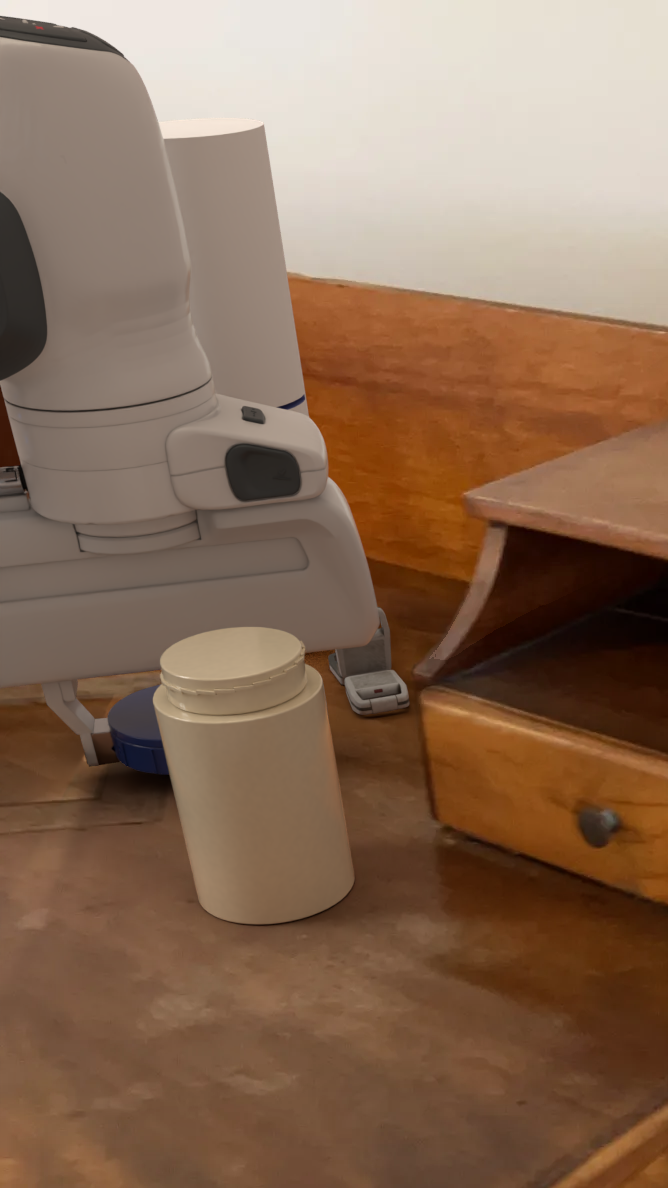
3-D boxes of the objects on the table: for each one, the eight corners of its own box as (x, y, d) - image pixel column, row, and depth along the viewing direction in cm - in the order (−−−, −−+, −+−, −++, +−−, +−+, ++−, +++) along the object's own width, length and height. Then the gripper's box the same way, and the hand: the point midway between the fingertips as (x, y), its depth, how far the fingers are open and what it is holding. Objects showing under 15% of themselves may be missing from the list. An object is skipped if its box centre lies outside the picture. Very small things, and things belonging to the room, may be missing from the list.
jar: (209, 938, 71) (154, 696, 65) (188, 867, 76) (134, 636, 70) (369, 906, 73) (331, 667, 66) (338, 838, 78) (299, 611, 72)
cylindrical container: (195, 652, 97) (87, 138, 81) (248, 607, 102) (156, 118, 87) (312, 660, 95) (225, 138, 80) (359, 614, 101) (287, 117, 85)
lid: (247, 772, 81) (241, 737, 80) (102, 778, 81) (93, 742, 80) (266, 711, 87) (260, 677, 85) (130, 716, 86) (122, 682, 85)
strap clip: (414, 711, 89) (404, 631, 87) (357, 720, 89) (345, 640, 86) (379, 655, 96) (368, 578, 93) (325, 663, 95) (313, 586, 92)
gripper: (-131, 500, 72) (-35, 804, 80) (358, 452, 75) (400, 750, 83) (-111, 459, 76) (-23, 750, 85) (347, 415, 80) (388, 700, 88)
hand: (190, 750), depth 84 cm, fingers closed on lid, 7 cm apart
